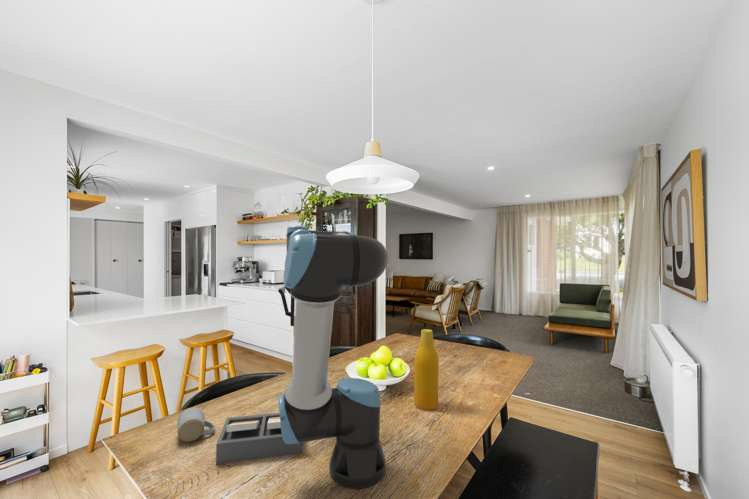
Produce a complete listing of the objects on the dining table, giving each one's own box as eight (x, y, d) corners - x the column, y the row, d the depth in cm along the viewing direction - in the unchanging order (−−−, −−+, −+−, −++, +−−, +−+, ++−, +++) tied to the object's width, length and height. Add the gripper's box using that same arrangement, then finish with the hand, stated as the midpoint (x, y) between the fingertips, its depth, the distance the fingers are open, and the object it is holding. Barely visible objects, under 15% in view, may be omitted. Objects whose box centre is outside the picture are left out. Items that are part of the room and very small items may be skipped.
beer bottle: (442, 405, 129) (443, 330, 129) (429, 413, 122) (430, 334, 122) (423, 398, 135) (423, 326, 136) (409, 405, 128) (410, 330, 129)
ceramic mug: (176, 446, 99) (178, 420, 99) (177, 433, 106) (178, 409, 106) (216, 437, 104) (217, 413, 105) (213, 426, 112) (214, 402, 112)
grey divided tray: (301, 453, 97) (302, 424, 97) (216, 464, 91) (216, 433, 91) (300, 427, 111) (301, 402, 111) (226, 435, 106) (227, 408, 106)
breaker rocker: (257, 428, 96) (257, 422, 97) (224, 432, 94) (225, 425, 95) (260, 426, 105) (260, 419, 106) (230, 429, 103) (231, 422, 104)
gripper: (314, 268, 125) (313, 331, 124) (278, 268, 121) (277, 333, 121) (316, 269, 118) (315, 336, 117) (277, 269, 114) (276, 338, 114)
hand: (295, 334), depth 119 cm, fingers closed
